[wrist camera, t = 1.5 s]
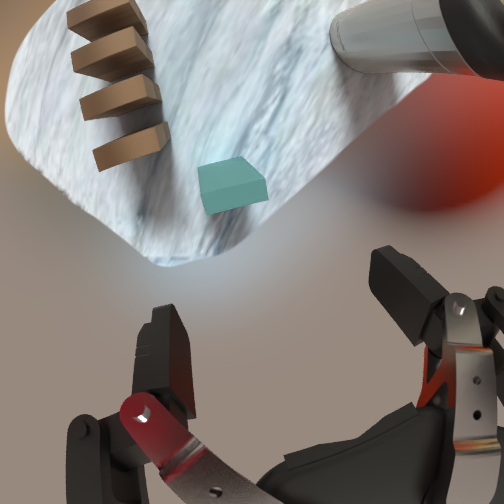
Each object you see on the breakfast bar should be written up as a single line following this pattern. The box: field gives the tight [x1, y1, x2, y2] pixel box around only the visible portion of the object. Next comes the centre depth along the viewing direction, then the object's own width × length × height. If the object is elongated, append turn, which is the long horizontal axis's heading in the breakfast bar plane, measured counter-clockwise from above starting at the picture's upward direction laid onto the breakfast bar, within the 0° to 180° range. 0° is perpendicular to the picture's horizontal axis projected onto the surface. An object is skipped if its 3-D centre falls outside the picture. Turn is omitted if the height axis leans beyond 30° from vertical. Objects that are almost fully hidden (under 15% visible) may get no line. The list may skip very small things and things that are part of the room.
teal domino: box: [198, 157, 269, 215], centre depth 25 cm, size 5×2×10 cm, turn 100°
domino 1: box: [67, 0, 148, 42], centre depth 14 cm, size 5×2×10 cm, turn 100°
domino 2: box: [71, 26, 154, 82], centre depth 17 cm, size 5×2×10 cm, turn 100°
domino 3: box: [79, 74, 162, 121], centre depth 19 cm, size 5×2×10 cm, turn 100°
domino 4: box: [92, 122, 171, 172], centre depth 21 cm, size 5×2×10 cm, turn 100°
